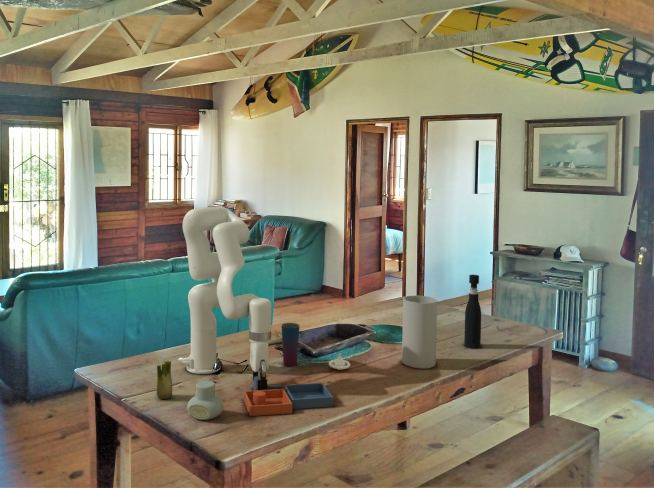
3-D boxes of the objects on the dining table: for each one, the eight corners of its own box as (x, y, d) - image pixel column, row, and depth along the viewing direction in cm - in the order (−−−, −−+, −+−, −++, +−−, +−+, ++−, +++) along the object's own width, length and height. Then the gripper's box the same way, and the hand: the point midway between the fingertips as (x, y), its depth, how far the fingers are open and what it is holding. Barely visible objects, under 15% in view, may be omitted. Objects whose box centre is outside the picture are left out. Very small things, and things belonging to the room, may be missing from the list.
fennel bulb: (157, 401, 193) (157, 365, 192) (153, 396, 198) (153, 360, 197) (174, 399, 195) (174, 362, 195) (170, 393, 200) (170, 358, 199)
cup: (297, 367, 225) (298, 328, 225) (279, 366, 227) (280, 327, 226) (300, 361, 232) (300, 323, 231) (282, 360, 233) (283, 322, 233)
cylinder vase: (395, 363, 231) (397, 299, 229) (411, 356, 240) (413, 293, 238) (426, 371, 222) (427, 305, 221) (441, 363, 231) (442, 299, 230)
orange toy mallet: (254, 408, 187) (254, 396, 187) (252, 403, 191) (252, 391, 191) (283, 406, 189) (283, 394, 189) (281, 401, 193) (281, 389, 193)
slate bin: (292, 409, 188) (292, 399, 188) (284, 393, 200) (284, 385, 200) (333, 406, 191) (333, 397, 191) (322, 391, 203) (322, 382, 203)
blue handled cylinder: (254, 392, 202) (254, 380, 201) (252, 387, 206) (252, 376, 205) (282, 390, 203) (282, 378, 203) (279, 386, 207) (279, 374, 207)
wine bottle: (463, 347, 251) (465, 276, 250) (464, 343, 257) (466, 273, 256) (480, 349, 249) (482, 277, 248) (480, 344, 255) (482, 274, 253)
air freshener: (182, 418, 181) (183, 385, 180) (195, 408, 189) (195, 376, 188) (215, 424, 177) (216, 391, 176) (227, 413, 185) (227, 381, 184)
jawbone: (293, 337, 265) (293, 332, 265) (279, 351, 246) (279, 346, 246) (273, 333, 268) (274, 328, 268) (258, 347, 249) (259, 342, 249)
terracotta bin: (249, 416, 183) (250, 406, 183) (243, 400, 195) (243, 391, 195) (292, 413, 185) (292, 403, 185) (283, 397, 197) (283, 388, 197)
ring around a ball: (348, 365, 228) (327, 364, 229) (349, 350, 228) (327, 350, 228) (351, 373, 220) (329, 372, 221) (351, 358, 220) (329, 357, 220)
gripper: (245, 328, 211) (244, 377, 212) (253, 343, 194) (253, 396, 195) (266, 327, 212) (265, 376, 213) (276, 342, 195) (276, 395, 196)
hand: (259, 386), depth 204 cm, fingers open, 8 cm apart
